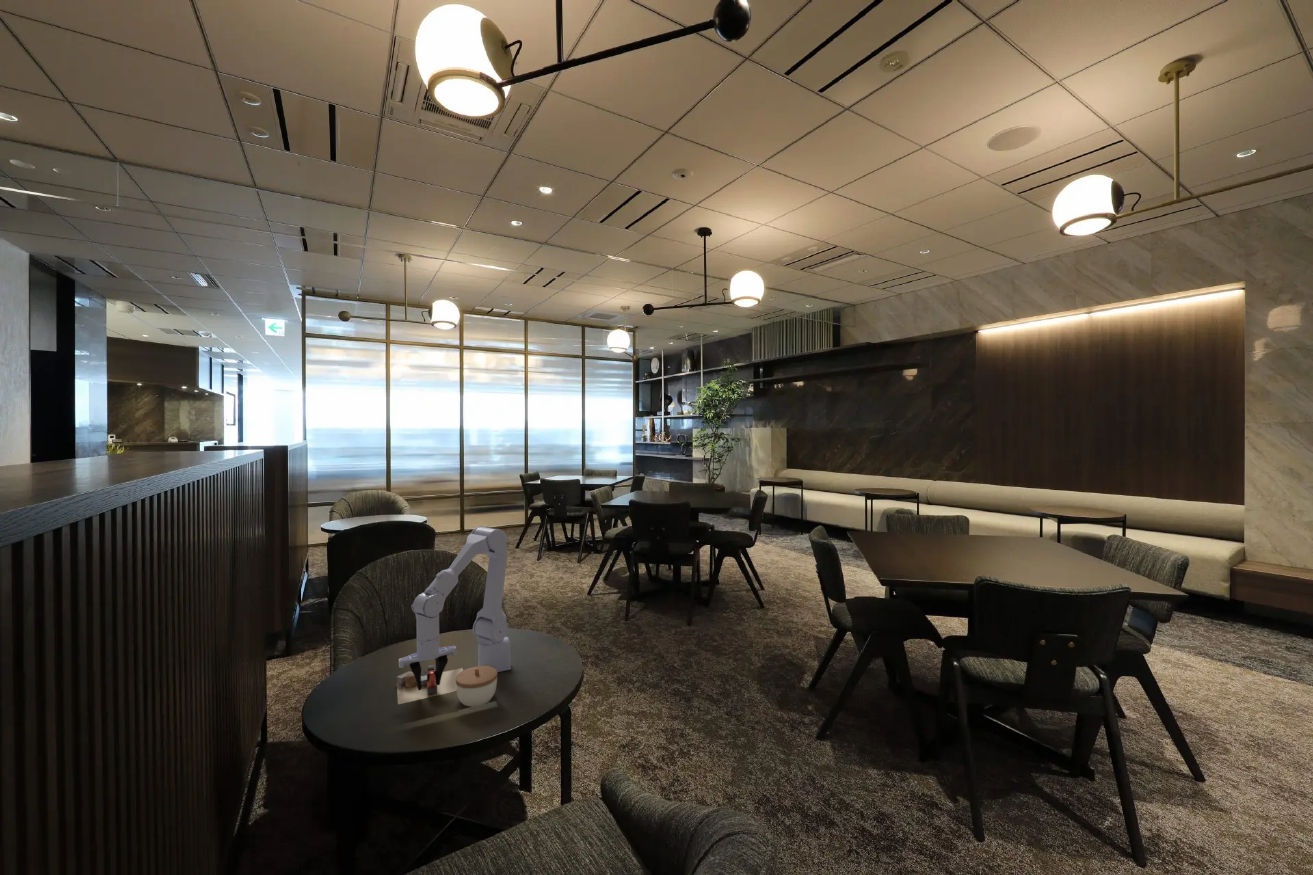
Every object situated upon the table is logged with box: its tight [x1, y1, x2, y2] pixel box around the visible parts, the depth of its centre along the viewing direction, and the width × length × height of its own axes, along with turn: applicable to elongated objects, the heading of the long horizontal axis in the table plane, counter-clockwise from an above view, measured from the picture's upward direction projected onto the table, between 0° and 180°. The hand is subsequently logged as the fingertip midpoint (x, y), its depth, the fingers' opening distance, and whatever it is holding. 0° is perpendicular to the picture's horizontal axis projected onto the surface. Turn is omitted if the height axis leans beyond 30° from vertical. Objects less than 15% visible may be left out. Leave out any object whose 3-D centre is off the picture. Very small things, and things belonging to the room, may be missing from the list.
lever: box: [421, 666, 437, 694], centre depth 146 cm, size 5×14×6 cm, turn 26°
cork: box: [406, 673, 417, 688], centre depth 145 cm, size 3×3×3 cm
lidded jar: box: [456, 665, 498, 710], centre depth 138 cm, size 11×11×9 cm
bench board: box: [396, 664, 464, 706], centre depth 146 cm, size 18×14×4 cm
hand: (428, 685), depth 141 cm, fingers open, 4 cm apart
